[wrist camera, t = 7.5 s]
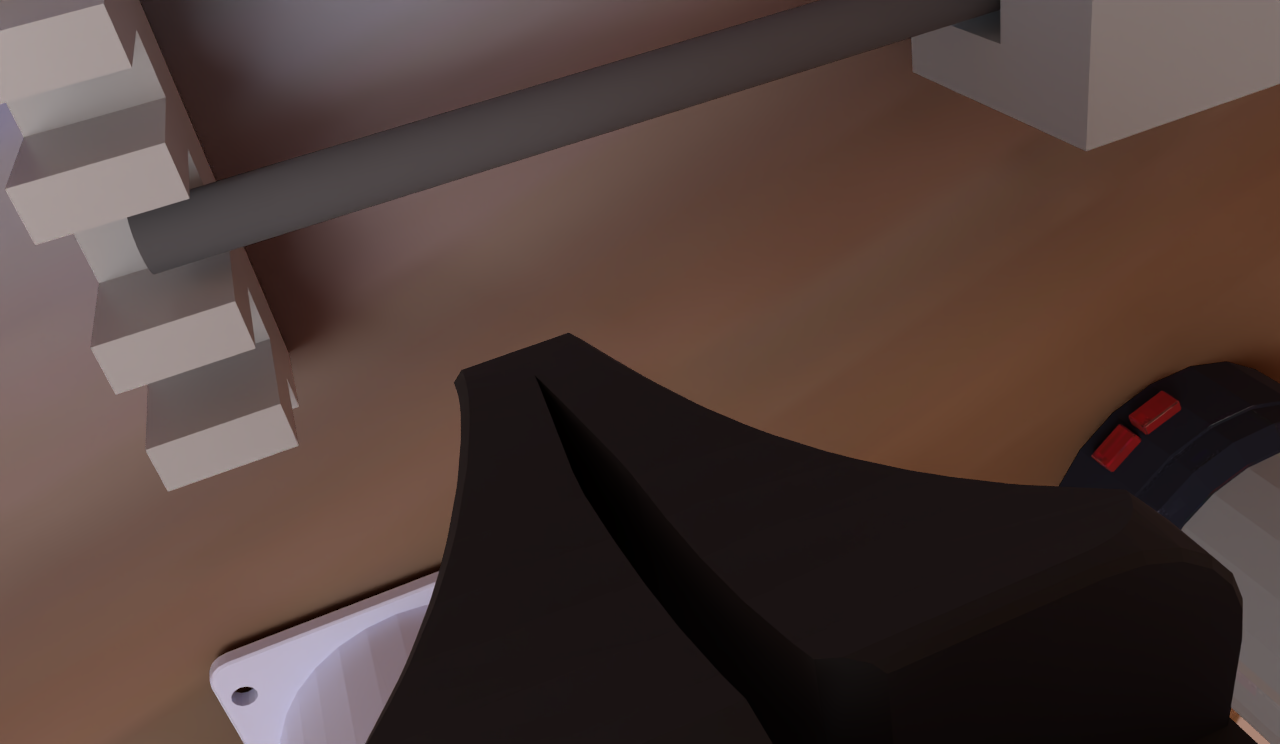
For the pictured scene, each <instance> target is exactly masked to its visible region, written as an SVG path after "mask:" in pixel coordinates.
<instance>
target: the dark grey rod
mask: <svg viewBox="0 0 1280 744" xmlns="http://www.w3.org/2000/svg"><path fill="white" fill-rule="evenodd" d="M998 10H1000V0H819V1H816V2H813V3H809V4H806V5H803V6H799V7H796V8H793V9H789V10H786V11H783V12H779V13H776V14H773V15H769V16H766V17H763V18H759V19H756V20H753V21H749V22H746V23H743V24H739V25H736V26H733V27H729V28H726V29H723V30H719V31H716V32H713V33H709V34H706V35H703V36H699V37H696V38H693V39H689V40H686V41H683V42H679V43H676V44H673V45H669V46H666V47H663V48H659V49H656V50H653V51H649V52H646V53H643V54H639V55H636V56H633V57H629V58H626V59H623V60H619V61H616V62H613V63H609V64H606V65H603V66H599V67H596V68H593V69H589V70H586V71H583V72H579V73H576V74H573V75H569V76H566V77H563V78H559V79H556V80H553V81H549V82H546V83H543V84H539V85H536V86H533V87H529V88H526V89H523V90H519V91H516V92H513V93H509V94H506V95H503V96H499V97H496V98H493V99H489V100H486V101H483V102H479V103H476V104H473V105H469V106H466V107H463V108H459V109H456V110H453V111H449V112H446V113H443V114H439V115H436V116H433V117H429V118H426V119H423V120H419V121H416V122H413V123H409V124H406V125H403V126H399V127H396V128H393V129H389V130H386V131H383V132H379V133H376V134H373V135H369V136H366V137H363V138H359V139H356V140H353V141H349V142H346V143H343V144H339V145H336V146H333V147H329V148H326V149H323V150H319V151H316V152H313V153H309V154H306V155H303V156H299V157H296V158H293V159H289V160H286V161H283V162H279V163H276V164H273V165H269V166H266V167H263V168H259V169H256V170H253V171H249V172H246V173H243V174H239V175H236V176H233V177H229V178H226V179H223V180H219V181H216V182H213V183H209V184H206V185H203V186H199V187H196V188H193V189H189V193H190V199H187V200H183V201H180V202H177V203H173V204H170V205H167V206H163V207H160V208H157V209H153V210H150V211H147V212H144V213H140V214H137V215H134V216H130V217H127V219H128V223H129V227H130V230H131V233H132V236H133V238H134V241H135V243H136V246H137V248H138V250H139V253H140V255H141V257H142V259H143V261H144V262H145V264H146V266H147V267H148V269H149V270H150V272H151V273H152V274H157V273H161V272H164V271H167V270H170V269H173V268H177V267H180V266H183V265H186V264H189V263H193V262H196V261H199V260H202V259H205V258H209V257H212V256H215V255H218V254H221V253H225V252H228V251H231V250H234V249H237V248H241V247H244V246H247V245H250V244H253V243H256V242H260V241H263V240H266V239H269V238H272V237H276V236H279V235H282V234H285V233H288V232H292V231H295V230H298V229H301V228H304V227H308V226H311V225H314V224H317V223H320V222H324V221H327V220H330V219H333V218H336V217H340V216H343V215H346V214H349V213H352V212H356V211H359V210H362V209H365V208H368V207H372V206H375V205H378V204H381V203H384V202H387V201H391V200H394V199H397V198H400V197H403V196H407V195H410V194H413V193H416V192H419V191H423V190H426V189H429V188H432V187H435V186H439V185H442V184H445V183H448V182H451V181H455V180H458V179H461V178H464V177H467V176H471V175H474V174H477V173H480V172H483V171H487V170H490V169H493V168H496V167H499V166H502V165H506V164H509V163H512V162H515V161H518V160H522V159H525V158H528V157H531V156H534V155H538V154H541V153H544V152H547V151H550V150H554V149H557V148H560V147H563V146H566V145H570V144H573V143H576V142H579V141H582V140H586V139H589V138H592V137H595V136H598V135H602V134H605V133H608V132H611V131H614V130H618V129H621V128H624V127H627V126H630V125H633V124H637V123H640V122H643V121H646V120H649V119H653V118H656V117H659V116H662V115H665V114H669V113H672V112H675V111H678V110H681V109H685V108H688V107H691V106H694V105H697V104H701V103H704V102H707V101H710V100H713V99H717V98H720V97H723V96H726V95H729V94H733V93H736V92H739V91H742V90H745V89H748V88H752V87H755V86H758V85H761V84H764V83H768V82H771V81H774V80H777V79H780V78H784V77H787V76H790V75H793V74H796V73H800V72H803V71H806V70H809V69H812V68H816V67H819V66H822V65H825V64H828V63H832V62H835V61H838V60H841V59H844V58H848V57H851V56H854V55H857V54H860V53H863V52H867V51H870V50H873V49H876V48H879V47H883V46H886V45H889V44H892V43H895V42H899V41H902V40H905V39H908V38H911V37H915V36H918V35H921V34H924V33H927V32H931V31H934V30H937V29H940V28H943V27H947V26H950V25H953V24H956V23H959V22H963V21H966V20H969V19H972V18H975V17H979V16H982V15H985V14H988V13H991V12H994V11H998Z"/></svg>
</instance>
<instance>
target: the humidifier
mask: <svg viewBox="0 0 1280 744" xmlns="http://www.w3.org/2000/svg"><path fill="white" fill-rule="evenodd" d="M1059 487H1078V488H1100V489H1122V490H1127V491H1128V492H1129V493H1131V494H1132V495H1134V496H1135V497H1137V498H1138V499H1140V500H1141V501H1143V502H1144V503H1146V504H1147V505H1148V506H1150V507H1151V508H1153V509H1154V510H1155V511H1157V512H1158V513H1159V514H1161V515H1162V516H1164V517H1165V518H1166V519H1168V520H1169V521H1171V522H1172V523H1173V524H1174V525H1175V526H1177V527H1178V528H1179V529H1180V530H1181V531H1183V532H1184V533H1185V534H1186V535H1187V536H1189V537H1190V538H1191V539H1192V540H1194V541H1195V542H1196V543H1197V544H1198V545H1200V546H1201V547H1202V548H1203V549H1204V550H1206V551H1207V552H1208V553H1209V554H1210V555H1212V556H1213V557H1214V558H1215V559H1216V560H1218V561H1219V562H1220V563H1221V564H1222V565H1223V566H1225V567H1226V568H1227V569H1228V570H1229V571H1231V572H1232V573H1233V575H1234V578H1235V580H1236V583H1237V585H1238V588H1239V590H1240V593H1241V595H1242V598H1243V631H1242V644H1241V650H1240V656H1239V662H1238V668H1237V674H1236V680H1235V686H1234V692H1233V698H1232V704H1231V708H1233V709H1234V710H1235V711H1236V712H1237V713H1238V714H1239V715H1240V716H1241V717H1242V718H1243V719H1245V720H1246V721H1247V722H1248V723H1249V724H1250V725H1251V726H1252V727H1253V728H1254V729H1255V730H1256V731H1258V732H1259V733H1260V734H1261V735H1262V736H1263V737H1264V738H1265V739H1266V740H1267V741H1268V742H1270V743H1271V744H1280V384H1279V383H1278V382H1276V381H1274V380H1273V379H1271V378H1269V377H1267V376H1266V375H1264V374H1262V373H1261V372H1259V371H1257V370H1255V369H1252V368H1248V367H1245V366H1241V365H1237V364H1234V363H1230V362H1220V363H1212V364H1205V365H1198V366H1191V367H1188V368H1186V369H1184V370H1182V371H1179V372H1177V373H1175V374H1173V375H1171V376H1168V377H1166V378H1164V379H1162V380H1160V381H1157V382H1155V383H1153V384H1151V385H1149V386H1148V387H1147V388H1145V389H1144V390H1143V391H1141V392H1140V393H1139V394H1138V395H1136V396H1135V397H1134V398H1132V399H1131V400H1130V401H1128V402H1127V403H1126V404H1124V405H1123V406H1122V407H1120V408H1119V409H1118V410H1116V411H1115V412H1114V413H1112V414H1111V416H1110V417H1109V418H1108V419H1107V420H1106V421H1105V422H1104V423H1103V425H1102V426H1101V427H1100V428H1099V429H1098V430H1097V431H1096V432H1095V434H1094V435H1093V436H1092V437H1091V438H1090V439H1089V440H1088V441H1087V443H1086V444H1085V445H1084V446H1083V447H1082V448H1081V449H1080V451H1079V453H1078V454H1077V456H1076V458H1075V460H1074V461H1073V463H1072V465H1071V466H1070V468H1069V470H1068V472H1067V473H1066V475H1065V477H1064V479H1063V480H1062V482H1061V484H1060V485H1059Z"/></svg>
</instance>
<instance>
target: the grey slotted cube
mask: <svg viewBox="0 0 1280 744" xmlns="http://www.w3.org/2000/svg"><path fill="white" fill-rule="evenodd" d="M911 44H912V65H913V72H914V73H916V74H918V75H920V76H922V77H925V78H927V79H929V80H931V81H933V82H936V83H938V84H940V85H942V86H944V87H947V88H949V89H951V90H953V91H955V92H957V93H960V94H962V95H964V96H966V97H968V98H971V99H973V100H975V101H977V102H979V103H982V104H984V105H986V106H988V107H990V108H992V109H995V110H997V111H999V112H1001V113H1003V114H1006V115H1008V116H1010V117H1012V118H1014V119H1017V120H1019V121H1021V122H1023V123H1025V124H1027V125H1030V126H1032V127H1034V128H1036V129H1038V130H1041V131H1043V132H1045V133H1047V134H1049V135H1052V136H1054V137H1056V138H1058V139H1060V140H1062V141H1065V142H1067V143H1069V144H1071V145H1073V146H1076V147H1078V148H1080V149H1082V150H1084V151H1088V150H1091V149H1094V148H1097V147H1100V146H1103V145H1106V144H1108V143H1111V142H1114V141H1117V140H1120V139H1123V138H1126V137H1129V136H1131V135H1134V134H1137V133H1140V132H1143V131H1146V130H1149V129H1152V128H1154V127H1157V126H1160V125H1163V124H1166V123H1169V122H1172V121H1175V120H1177V119H1180V118H1183V117H1186V116H1189V115H1192V114H1195V113H1197V112H1200V111H1203V110H1206V109H1209V108H1212V107H1215V106H1218V105H1220V104H1223V103H1226V102H1229V101H1232V100H1235V99H1238V98H1241V97H1243V96H1246V95H1249V94H1252V93H1255V92H1258V91H1261V90H1264V89H1266V88H1269V87H1272V86H1275V85H1278V84H1280V0H1000V10H998V11H994V12H991V13H988V14H985V15H982V16H979V17H975V18H972V19H969V20H966V21H963V22H959V23H956V24H953V25H950V26H947V27H943V28H940V29H937V30H934V31H931V32H927V33H924V34H921V35H918V36H915V37H911Z"/></svg>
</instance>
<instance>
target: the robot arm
mask: <svg viewBox="0 0 1280 744" xmlns="http://www.w3.org/2000/svg"><path fill="white" fill-rule="evenodd" d="M454 384H455V387H456V390H457V393H458V396H459V402H460V411H461V446H460V458H459V471H458V481H457V489H456V495H455V500H454V506H453V511H452V517H451V522H450V528H449V533H448V538H447V543H446V547H445V551H444V555H443V559H442V562H441V566H440V570H439V571H438V572H435V573H432V574H430V575H427V576H425V577H422V578H419V579H417V580H414V581H412V582H409V583H406V584H404V585H401V586H399V587H396V588H393V589H391V590H388V591H386V592H383V593H380V594H378V595H375V596H373V597H370V598H367V599H365V600H362V601H360V602H357V603H354V604H352V605H349V606H347V607H344V608H341V609H339V610H336V611H334V612H331V613H328V614H326V615H323V616H321V617H318V618H315V619H313V620H310V621H307V622H305V623H302V624H300V625H297V626H294V627H292V628H289V629H287V630H284V631H281V632H279V633H276V634H274V635H271V636H268V637H266V638H263V639H261V640H258V641H255V642H253V643H250V644H248V645H245V646H242V647H240V648H237V649H235V650H232V651H229V652H227V653H225V654H223V655H221V656H219V657H218V658H217V659H216V660H215V661H214V662H213V663H212V665H211V668H210V684H211V687H212V690H213V691H214V693H215V695H216V696H217V698H218V700H219V702H220V703H221V705H222V707H223V708H224V710H225V712H226V714H227V715H228V717H229V719H230V720H231V722H232V724H233V725H234V727H235V729H236V731H237V732H238V734H239V736H240V737H241V739H242V741H243V743H244V744H1258V743H1256V742H1255V741H1254V740H1253V739H1252V738H1251V737H1250V736H1249V735H1248V734H1247V733H1246V732H1245V731H1244V730H1242V729H1241V728H1240V727H1239V726H1238V725H1237V724H1236V723H1235V722H1234V721H1233V720H1232V719H1231V718H1230V717H1229V716H1230V710H1231V704H1232V698H1233V692H1234V686H1235V680H1236V674H1237V668H1238V662H1239V656H1240V650H1241V644H1242V631H1243V598H1242V595H1241V593H1240V590H1239V588H1238V585H1237V583H1236V580H1235V578H1234V575H1233V573H1232V572H1231V571H1229V570H1228V569H1227V568H1226V567H1225V566H1223V565H1222V564H1221V563H1220V562H1219V561H1218V560H1216V559H1215V558H1214V557H1213V556H1212V555H1210V554H1209V553H1208V552H1207V551H1206V550H1204V549H1203V548H1202V547H1201V546H1200V545H1198V544H1197V543H1196V542H1195V541H1194V540H1192V539H1191V538H1190V537H1189V536H1187V535H1186V534H1185V533H1184V532H1183V531H1181V530H1180V529H1179V528H1178V527H1177V526H1175V525H1174V524H1173V523H1172V522H1171V521H1169V520H1168V519H1166V518H1165V517H1164V516H1162V515H1161V514H1159V513H1158V512H1157V511H1155V510H1154V509H1153V508H1151V507H1150V506H1148V505H1147V504H1146V503H1144V502H1143V501H1141V500H1140V499H1138V498H1137V497H1135V496H1134V495H1132V494H1131V493H1129V492H1128V491H1127V490H1122V489H1100V488H1078V487H1055V486H1033V485H1016V484H1005V483H997V482H989V481H980V480H972V479H963V478H955V477H947V476H941V475H935V474H929V473H922V472H916V471H910V470H905V469H900V468H896V467H891V466H886V465H882V464H877V463H872V462H868V461H863V460H858V459H853V458H850V457H846V456H842V455H838V454H834V453H830V452H826V451H823V450H819V449H816V448H813V447H810V446H807V445H803V444H800V443H797V442H794V441H791V440H788V439H784V438H781V437H778V436H775V435H772V434H769V433H766V432H764V431H761V430H758V429H755V428H753V427H750V426H747V425H745V424H742V423H740V422H738V421H735V420H733V419H731V418H728V417H726V416H723V415H721V414H719V413H716V412H714V411H712V410H709V409H707V408H705V407H703V406H700V405H698V404H696V403H694V402H692V401H690V400H688V399H686V398H684V397H682V396H680V395H678V394H677V393H675V392H673V391H671V390H669V389H667V388H665V387H663V386H661V385H659V384H657V383H655V382H653V381H652V380H650V379H648V378H646V377H644V376H642V375H641V374H639V373H637V372H635V371H634V370H632V369H630V368H628V367H627V366H625V365H623V364H621V363H620V362H618V361H616V360H615V359H613V358H611V357H610V356H608V355H606V354H605V353H603V352H601V351H600V350H598V349H596V348H595V347H593V346H591V345H590V344H588V343H586V342H585V341H583V340H581V339H580V338H578V337H576V336H574V335H572V334H570V333H567V334H564V335H561V336H558V337H555V338H552V339H549V340H547V341H544V342H541V343H538V344H535V345H532V346H529V347H527V348H524V349H521V350H518V351H515V352H512V353H509V354H506V355H504V356H501V357H498V358H495V359H492V360H489V361H486V362H483V363H481V364H478V365H475V366H472V367H469V368H466V369H463V370H461V372H460V374H459V375H458V377H457V379H456V380H455V382H454ZM242 687H252V688H253V689H252V690H250V691H248V692H243V693H240V692H235V691H236V690H237V689H239V688H242Z"/></svg>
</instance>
